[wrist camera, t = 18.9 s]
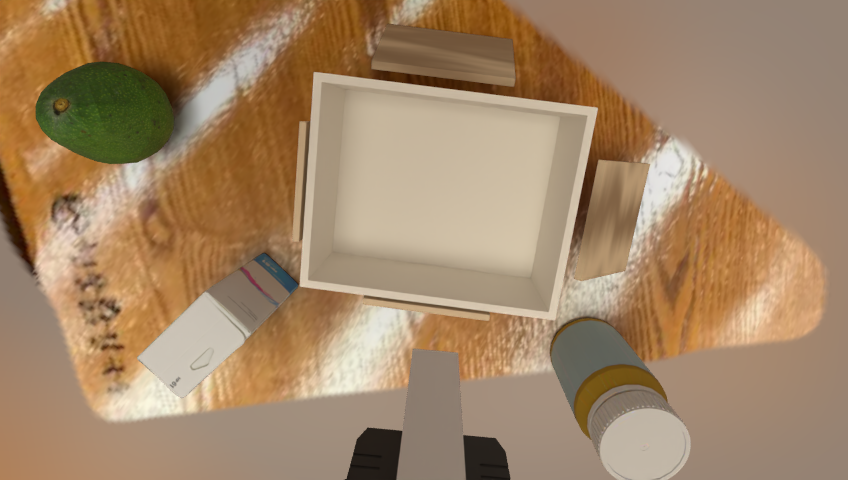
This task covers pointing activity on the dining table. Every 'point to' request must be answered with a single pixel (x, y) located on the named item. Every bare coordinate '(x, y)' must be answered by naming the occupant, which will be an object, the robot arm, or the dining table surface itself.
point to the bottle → (618, 402)
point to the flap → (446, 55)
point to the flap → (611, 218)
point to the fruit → (106, 113)
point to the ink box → (217, 324)
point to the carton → (438, 196)
